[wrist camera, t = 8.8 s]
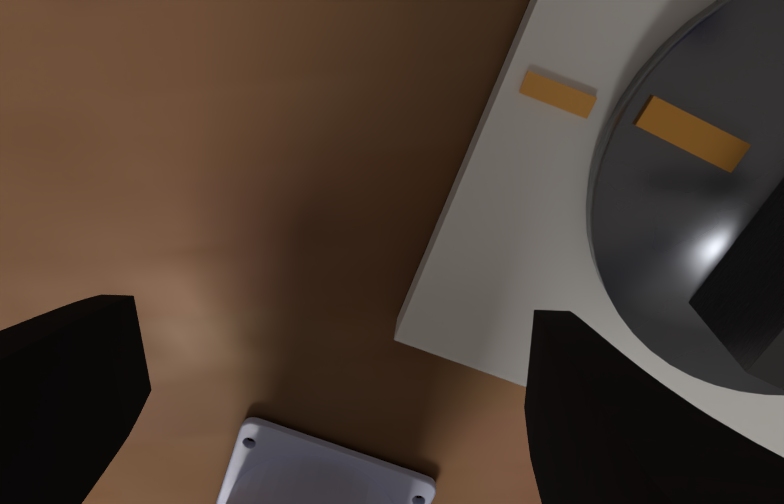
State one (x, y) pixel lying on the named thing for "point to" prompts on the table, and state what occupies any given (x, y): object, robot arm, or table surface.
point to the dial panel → (550, 207)
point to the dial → (700, 199)
